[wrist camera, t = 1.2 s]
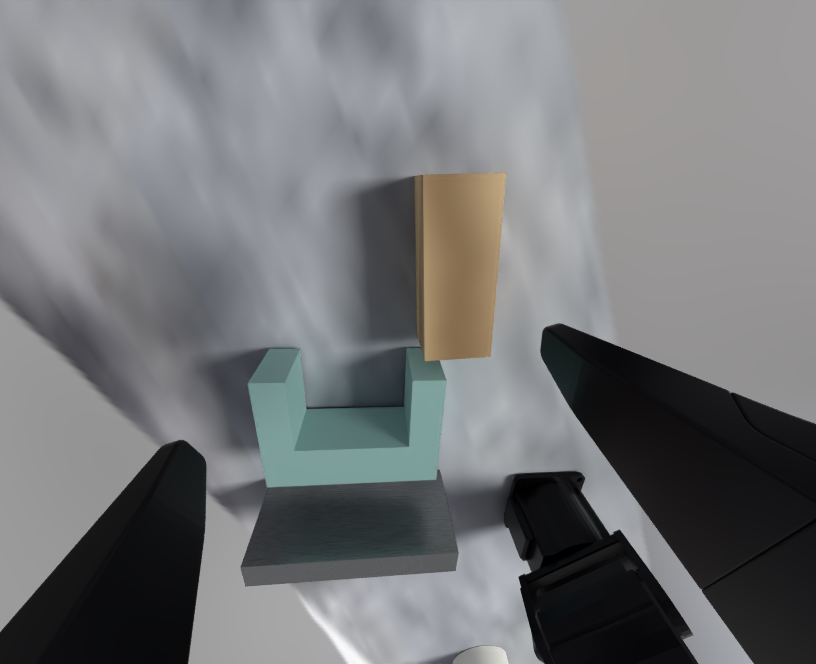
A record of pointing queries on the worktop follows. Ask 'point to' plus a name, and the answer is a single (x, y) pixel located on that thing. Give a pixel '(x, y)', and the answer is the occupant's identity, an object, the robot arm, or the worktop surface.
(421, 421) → the slot block
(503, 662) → the cylindrical container
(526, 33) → the worktop surface
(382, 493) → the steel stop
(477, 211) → the oak peg
